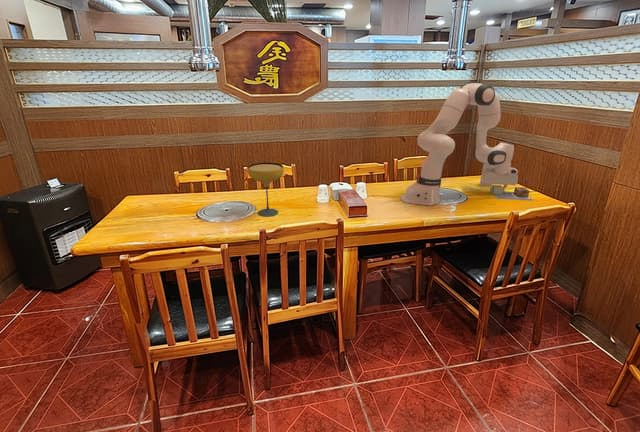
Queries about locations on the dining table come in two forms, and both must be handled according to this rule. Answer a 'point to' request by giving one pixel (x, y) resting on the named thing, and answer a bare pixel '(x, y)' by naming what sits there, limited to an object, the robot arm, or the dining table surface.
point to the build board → (510, 196)
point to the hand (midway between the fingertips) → (496, 190)
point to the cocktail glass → (266, 180)
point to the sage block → (497, 189)
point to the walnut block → (521, 192)
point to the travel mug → (482, 174)
